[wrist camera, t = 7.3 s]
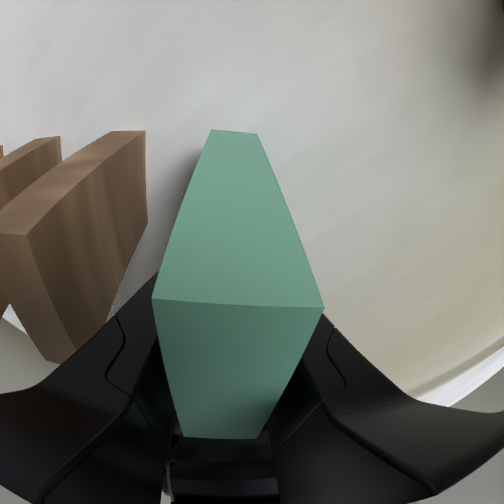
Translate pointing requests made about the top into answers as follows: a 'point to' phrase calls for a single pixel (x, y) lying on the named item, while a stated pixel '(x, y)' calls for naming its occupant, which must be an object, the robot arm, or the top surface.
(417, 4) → the top surface
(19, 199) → the wooden block
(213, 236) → the tile
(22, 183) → the tile
